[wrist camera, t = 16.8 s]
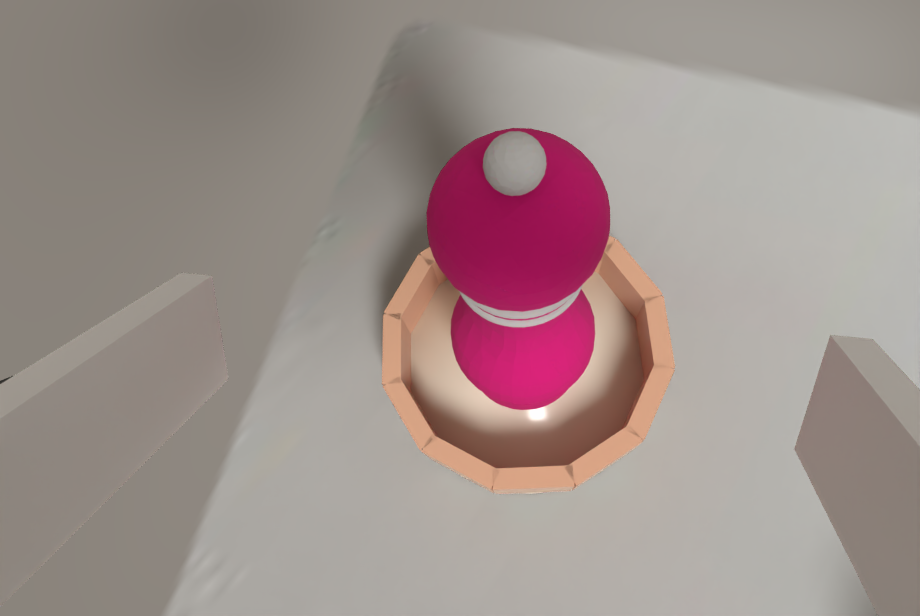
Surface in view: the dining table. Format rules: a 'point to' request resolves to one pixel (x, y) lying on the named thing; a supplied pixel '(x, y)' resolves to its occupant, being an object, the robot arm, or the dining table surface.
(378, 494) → the dining table surface
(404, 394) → the terracotta bowl
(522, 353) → the pepper mill
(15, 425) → the robot arm
